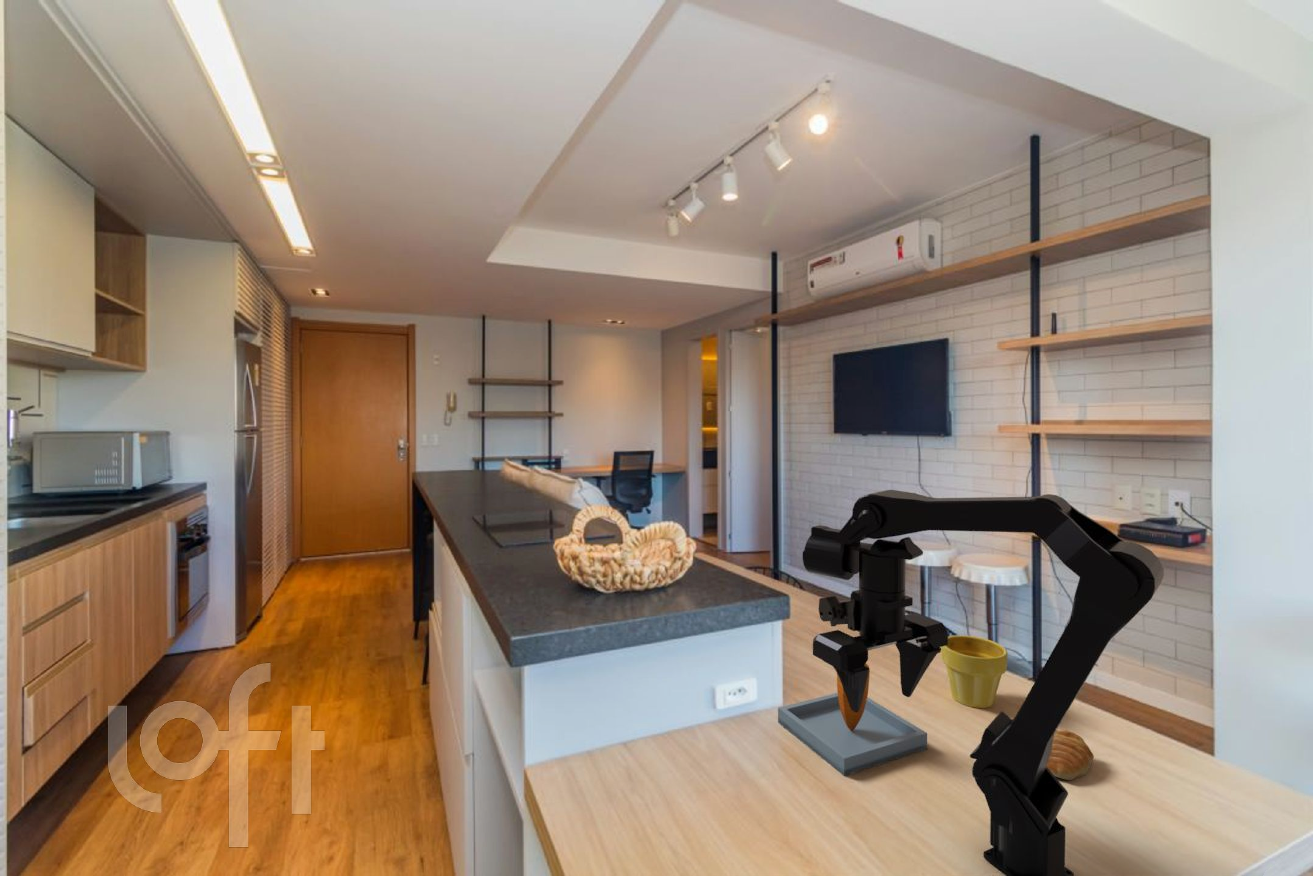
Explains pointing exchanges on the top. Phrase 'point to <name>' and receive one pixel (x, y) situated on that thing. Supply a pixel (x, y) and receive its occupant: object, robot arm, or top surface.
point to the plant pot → (974, 669)
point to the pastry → (1069, 755)
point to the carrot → (849, 715)
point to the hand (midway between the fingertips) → (881, 703)
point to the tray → (851, 733)
